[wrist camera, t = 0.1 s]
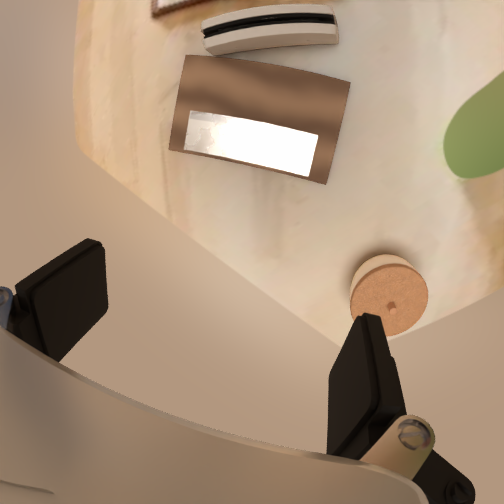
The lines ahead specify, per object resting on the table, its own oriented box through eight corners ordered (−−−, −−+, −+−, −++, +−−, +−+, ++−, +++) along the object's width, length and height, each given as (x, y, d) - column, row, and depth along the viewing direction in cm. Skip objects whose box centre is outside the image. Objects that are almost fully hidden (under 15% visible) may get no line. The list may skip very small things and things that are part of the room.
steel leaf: (191, 110, 37) (187, 110, 36) (318, 135, 36) (318, 135, 34) (184, 149, 40) (180, 150, 38) (308, 176, 38) (308, 177, 37)
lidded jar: (387, 316, 45) (399, 354, 36) (332, 289, 45) (335, 326, 36) (425, 263, 40) (447, 294, 32) (369, 230, 40) (383, 257, 32)
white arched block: (334, 14, 30) (341, -8, 21) (338, 45, 32) (348, 31, 23) (211, 28, 33) (184, 12, 25) (215, 57, 35) (189, 49, 27)
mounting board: (189, 56, 35) (185, 54, 34) (349, 83, 33) (350, 82, 32) (172, 149, 41) (168, 149, 40) (325, 183, 39) (325, 184, 38)
